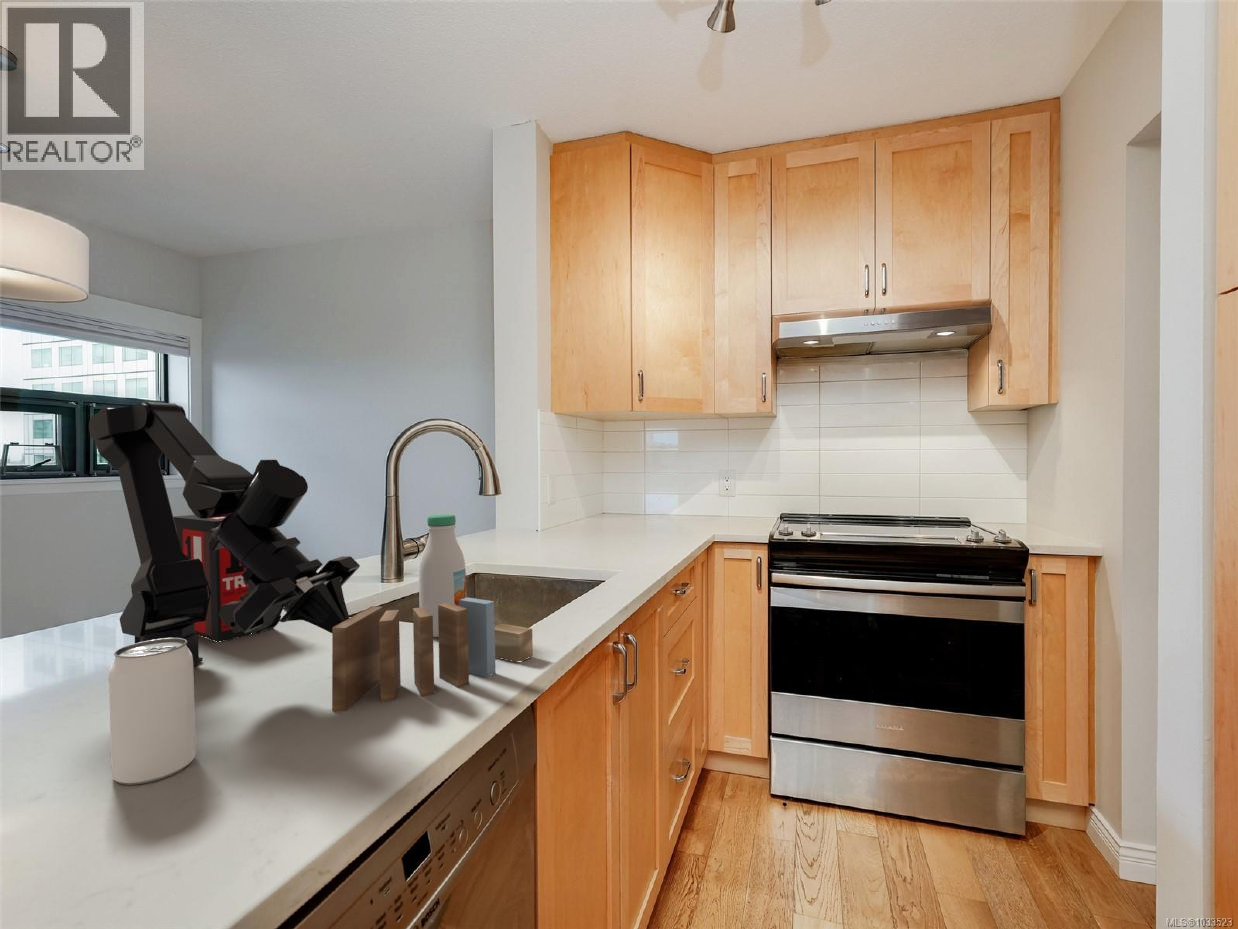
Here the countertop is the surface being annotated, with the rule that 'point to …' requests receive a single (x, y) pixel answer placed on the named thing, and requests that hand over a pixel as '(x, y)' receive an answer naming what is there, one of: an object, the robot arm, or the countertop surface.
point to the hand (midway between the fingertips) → (349, 636)
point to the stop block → (513, 642)
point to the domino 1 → (355, 658)
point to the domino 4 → (453, 644)
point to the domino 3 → (423, 651)
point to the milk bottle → (441, 568)
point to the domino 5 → (480, 635)
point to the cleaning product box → (213, 573)
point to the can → (151, 710)
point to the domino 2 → (389, 655)
